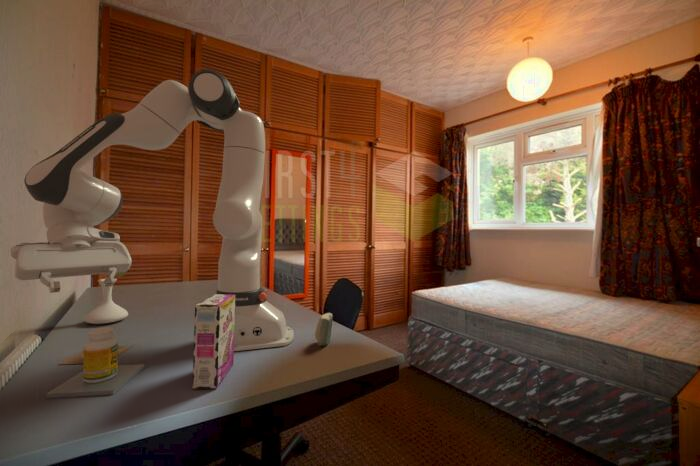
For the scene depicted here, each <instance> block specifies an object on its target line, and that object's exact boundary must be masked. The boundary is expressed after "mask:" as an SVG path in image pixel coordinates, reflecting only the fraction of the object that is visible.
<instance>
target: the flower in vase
mask: <svg viewBox="0 0 700 466" xmlns="http://www.w3.org/2000/svg"><path fill="white" fill-rule="evenodd" d="M122 276H126V272H120V273H116V274H115V277H122ZM104 280H105V278H102V279H101V278H100V279H97V282H98V283H99V284H100V286H101V289H102V300H101V302H100V304H98V305H97V306H96V307H95V308H94V309H92V310H91V311H90V312H88V313H87V314H86V315H85V316H84V318H83V321H84V322H85V323H87V324H92V325H93V324H94V325H101V324H110V323H114V322H118V321H121V320H123V319H125V318H127V317H128V316H129V312H128V311H127V310H126V309H125V308H124V307H121V306H120V305H118V304H116V303H115V302H114V301H113V298H112V295H113V294H112V293H113V292H112V290H113V287H114V285H113V286H109V287H105V284H104ZM117 280H118V279H117V278H114V284H115V283H116V282H117Z"/></svg>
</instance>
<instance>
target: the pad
mask: <svg viewBox="0 0 700 466" xmlns="http://www.w3.org/2000/svg"><path fill="white" fill-rule="evenodd" d="M145 366H146V365H145V364H141V363H140V364H120V365H119V364H118V371H117V374H116V375H115V376H114V377H113V378H111V379H109V380H106V381H102V382H98V383H87V382H85V381H84V379H83V371H84V370H82V371H80V372H78V373H77V374H75V375H74V376H72V377H70V378H69V379H68V380H65V381H64V382H63V383H61V384H60V385H58V386H56V387H54V388H53V389H52V390H50V391H48V392H47V393H46V394H45V395H46V397H45V398H46V399H55V398H56V399H57V398H58V399H59V398H72V397H73V398H75V397H88V396H89V397H90V396H91V397H92V396H94V397H95V396H108V395H109V396H111V395H115V394H116V393H117V392H118V391H119V390H120V389H122V388H123V387H124V386H126V384H128V383H129V382H130V381H131V380H132V379H133V378H135V377H136V376H137V375H138V374H139V373H140V372H142V371H143V370H144V369H145Z"/></svg>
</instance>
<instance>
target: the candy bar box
mask: <svg viewBox="0 0 700 466" xmlns="http://www.w3.org/2000/svg"><path fill="white" fill-rule="evenodd" d="M235 296H236V295H233V294H216V293H215V294H213V295H211V296H210V297H208V298H207V299H204V300H203V301H200V302H198V303H197V304H195V305H194V322H193V323H194V331H193V332H194V333H193V361H192V363H193V364H192V390H215V389H218V388H219V386H220V385H221V382H222V381H223V380H224V378H225V377H226V375H227V374H228V373H229V371H230V369H231V368H232V367H233V366H234V361H235V360H234V359H235V357H234V356H235V351H234V325H235Z"/></svg>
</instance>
